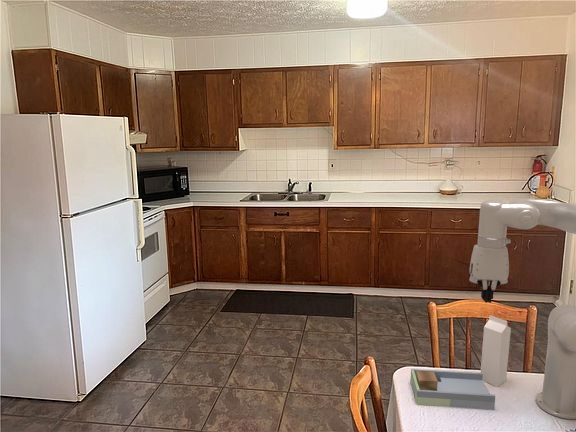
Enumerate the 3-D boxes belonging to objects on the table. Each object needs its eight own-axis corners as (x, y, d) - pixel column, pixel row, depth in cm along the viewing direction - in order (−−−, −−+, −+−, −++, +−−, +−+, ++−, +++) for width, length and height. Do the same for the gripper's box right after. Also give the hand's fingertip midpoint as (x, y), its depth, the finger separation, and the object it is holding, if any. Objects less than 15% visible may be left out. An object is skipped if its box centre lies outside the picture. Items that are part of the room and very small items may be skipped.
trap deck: (480, 385, 143) (482, 373, 142) (494, 409, 130) (495, 396, 130) (410, 381, 146) (411, 368, 145) (416, 404, 133) (417, 391, 132)
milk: (497, 387, 142) (502, 323, 138) (479, 379, 147) (484, 317, 143) (506, 381, 146) (512, 319, 142) (488, 373, 151) (494, 313, 147)
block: (433, 382, 141) (434, 372, 140) (436, 391, 135) (437, 381, 135) (415, 381, 141) (416, 371, 141) (418, 390, 136) (419, 380, 135)
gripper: (513, 240, 132) (508, 297, 136) (461, 238, 134) (458, 295, 138) (523, 246, 125) (517, 306, 128) (468, 244, 127) (464, 304, 130)
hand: (486, 300), depth 133 cm, fingers closed
